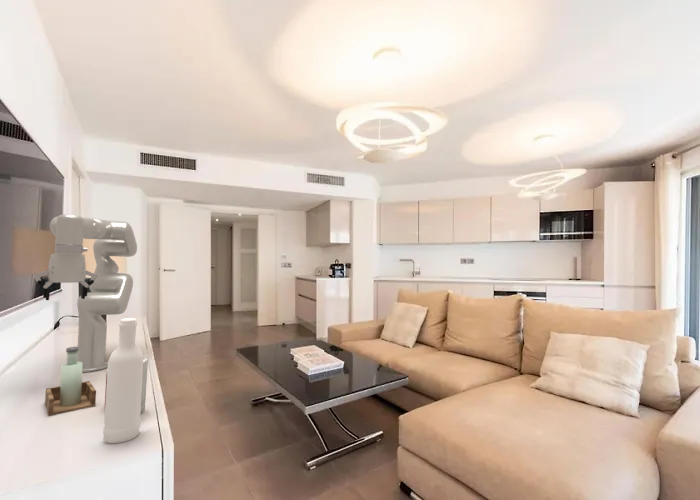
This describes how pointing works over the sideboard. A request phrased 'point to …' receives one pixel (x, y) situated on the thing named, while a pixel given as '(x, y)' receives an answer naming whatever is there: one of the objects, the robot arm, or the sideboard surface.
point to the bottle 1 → (71, 379)
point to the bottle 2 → (124, 387)
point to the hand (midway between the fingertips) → (65, 299)
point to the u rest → (86, 401)
